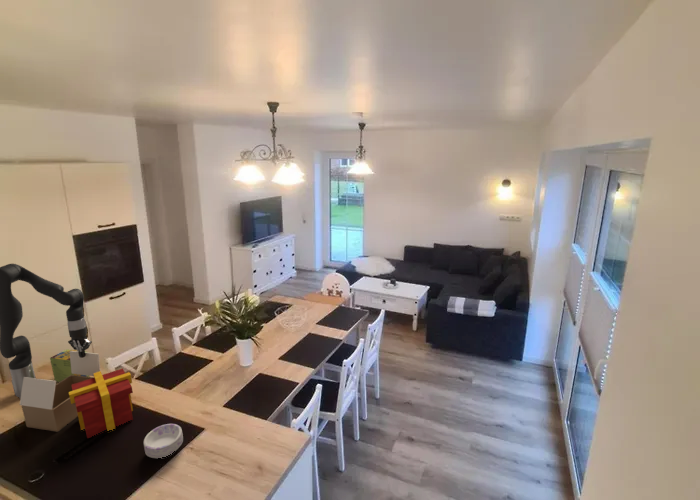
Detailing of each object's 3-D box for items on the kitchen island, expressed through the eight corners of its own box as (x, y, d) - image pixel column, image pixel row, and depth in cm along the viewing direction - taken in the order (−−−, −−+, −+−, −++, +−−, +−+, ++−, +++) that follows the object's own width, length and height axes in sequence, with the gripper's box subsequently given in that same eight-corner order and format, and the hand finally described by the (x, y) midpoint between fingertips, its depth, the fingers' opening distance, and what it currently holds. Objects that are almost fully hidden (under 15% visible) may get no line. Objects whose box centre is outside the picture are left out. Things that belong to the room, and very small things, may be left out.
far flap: (69, 351, 197) (70, 350, 197) (71, 373, 198) (72, 373, 199) (98, 354, 193) (98, 353, 194) (99, 376, 195) (100, 376, 196)
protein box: (76, 384, 210) (71, 360, 206) (54, 381, 213) (49, 357, 209) (92, 374, 220) (87, 351, 216) (71, 371, 223) (66, 348, 219)
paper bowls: (145, 469, 152) (142, 453, 150) (146, 445, 165) (143, 430, 163) (185, 456, 159) (183, 440, 157) (182, 433, 172) (180, 419, 170)
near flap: (20, 404, 173) (19, 405, 173) (24, 377, 174) (23, 377, 174) (52, 409, 170) (51, 409, 169) (56, 380, 171) (55, 381, 171)
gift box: (79, 445, 164) (71, 406, 160) (74, 417, 183) (66, 381, 178) (141, 420, 180) (135, 384, 176) (130, 396, 199) (125, 363, 194)
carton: (26, 426, 176) (21, 405, 173) (75, 394, 201) (71, 374, 198) (57, 431, 173) (52, 409, 170) (103, 397, 198) (99, 378, 195)
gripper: (59, 328, 188) (65, 359, 192) (81, 330, 186) (86, 361, 190) (73, 323, 195) (78, 352, 199) (94, 324, 193) (99, 354, 197)
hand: (82, 356), depth 194 cm, fingers closed
